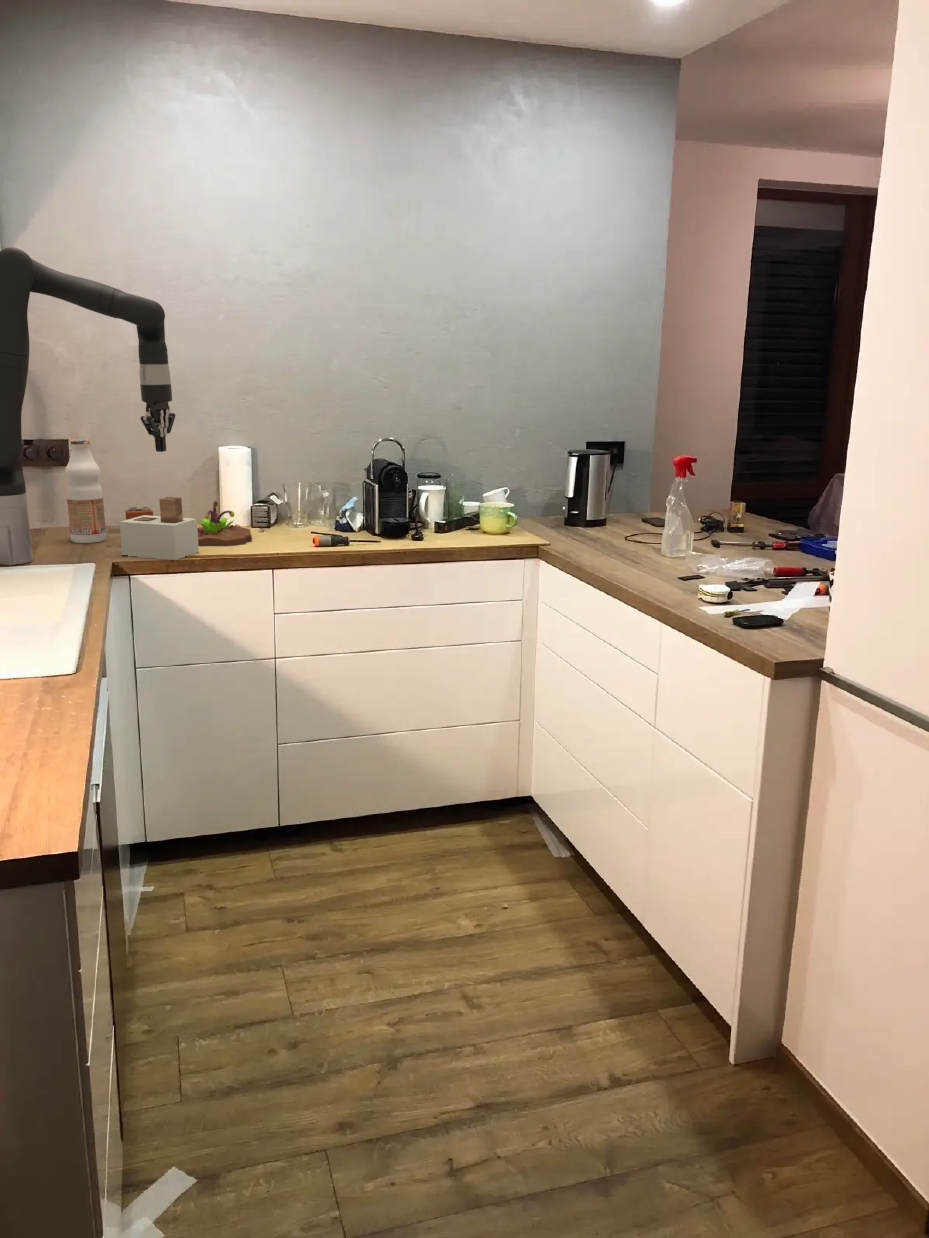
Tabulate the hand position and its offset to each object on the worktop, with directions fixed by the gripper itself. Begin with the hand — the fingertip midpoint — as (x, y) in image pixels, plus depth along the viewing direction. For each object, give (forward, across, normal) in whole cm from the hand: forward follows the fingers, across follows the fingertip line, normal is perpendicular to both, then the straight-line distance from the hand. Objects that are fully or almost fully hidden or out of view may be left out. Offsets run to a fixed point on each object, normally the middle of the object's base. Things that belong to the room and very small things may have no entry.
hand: (161, 451), depth 256 cm
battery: (+27, +10, +15) cm, 33 cm away
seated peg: (+27, -2, +5) cm, 27 cm away
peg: (+21, -2, -3) cm, 21 cm away
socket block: (+27, -2, +1) cm, 27 cm away
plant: (+28, +21, -2) cm, 35 cm away
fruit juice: (+27, +8, +30) cm, 41 cm away
